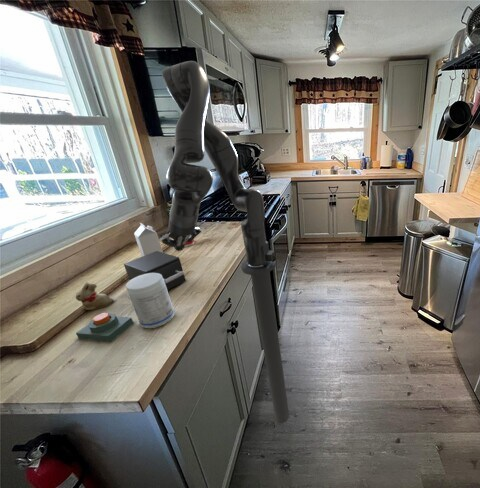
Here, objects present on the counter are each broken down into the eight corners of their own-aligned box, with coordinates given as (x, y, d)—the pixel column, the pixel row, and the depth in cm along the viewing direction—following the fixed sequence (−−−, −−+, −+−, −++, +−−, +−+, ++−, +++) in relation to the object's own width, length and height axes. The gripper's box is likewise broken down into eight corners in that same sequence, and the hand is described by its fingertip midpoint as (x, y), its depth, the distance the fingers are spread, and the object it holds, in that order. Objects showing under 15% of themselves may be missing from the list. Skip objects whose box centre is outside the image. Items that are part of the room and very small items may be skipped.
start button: (113, 317, 79) (111, 313, 78) (102, 325, 75) (100, 321, 75) (103, 316, 79) (100, 312, 78) (91, 324, 76) (89, 320, 75)
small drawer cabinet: (185, 280, 104) (179, 257, 100) (154, 297, 94) (145, 271, 90) (164, 273, 111) (156, 250, 107) (132, 287, 101) (123, 263, 97)
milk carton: (148, 268, 116) (135, 228, 108) (144, 263, 120) (130, 224, 113) (166, 262, 120) (154, 223, 113) (161, 258, 125) (149, 220, 117)
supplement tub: (139, 318, 83) (123, 279, 78) (171, 306, 89) (159, 268, 83) (143, 334, 77) (126, 293, 71) (178, 320, 82) (165, 280, 76)
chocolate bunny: (92, 301, 93) (81, 277, 89) (115, 300, 94) (105, 276, 90) (80, 311, 88) (67, 286, 84) (104, 309, 88) (93, 284, 84)
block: (133, 323, 82) (129, 312, 80) (111, 341, 74) (106, 330, 73) (103, 320, 83) (98, 310, 82) (78, 338, 76) (72, 328, 74)
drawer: (192, 282, 101) (187, 262, 98) (164, 298, 92) (157, 276, 89) (165, 273, 109) (159, 254, 106) (136, 286, 100) (129, 266, 96)
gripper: (198, 204, 84) (192, 235, 96) (154, 213, 75) (152, 246, 86) (210, 221, 82) (202, 250, 94) (166, 233, 73) (163, 264, 85)
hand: (178, 248), depth 90 cm, fingers closed
